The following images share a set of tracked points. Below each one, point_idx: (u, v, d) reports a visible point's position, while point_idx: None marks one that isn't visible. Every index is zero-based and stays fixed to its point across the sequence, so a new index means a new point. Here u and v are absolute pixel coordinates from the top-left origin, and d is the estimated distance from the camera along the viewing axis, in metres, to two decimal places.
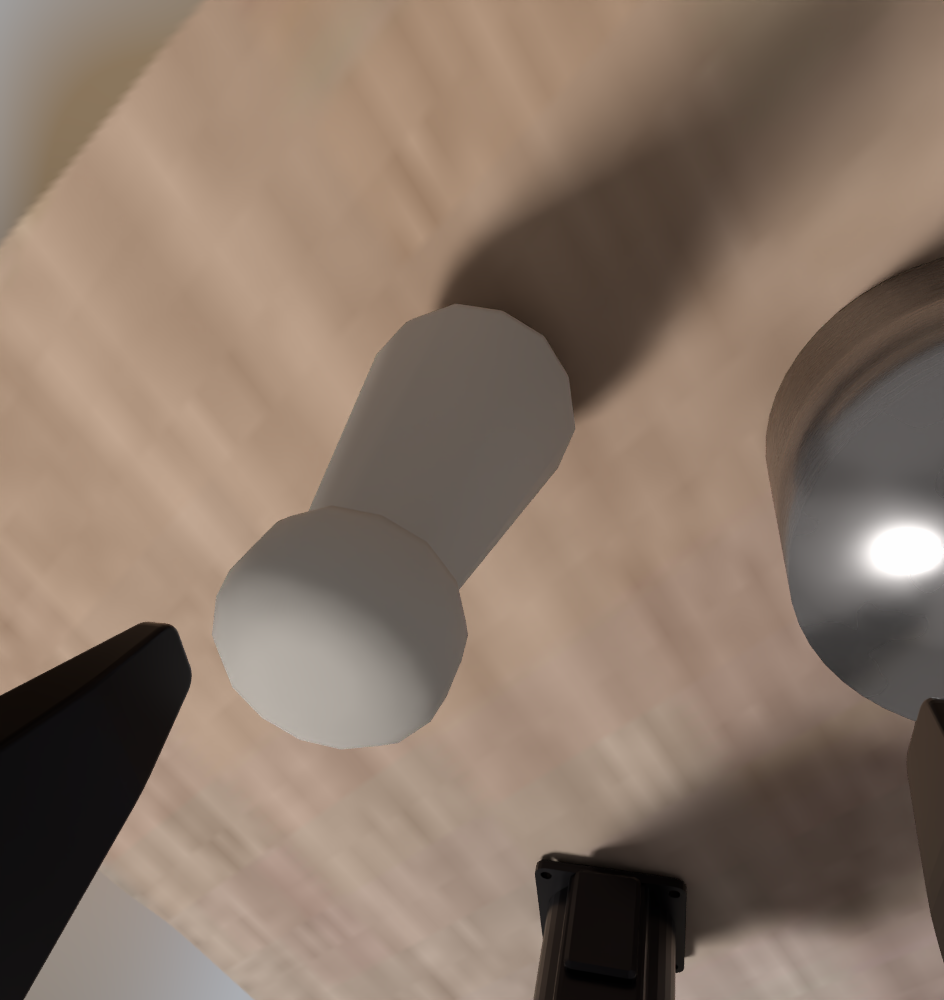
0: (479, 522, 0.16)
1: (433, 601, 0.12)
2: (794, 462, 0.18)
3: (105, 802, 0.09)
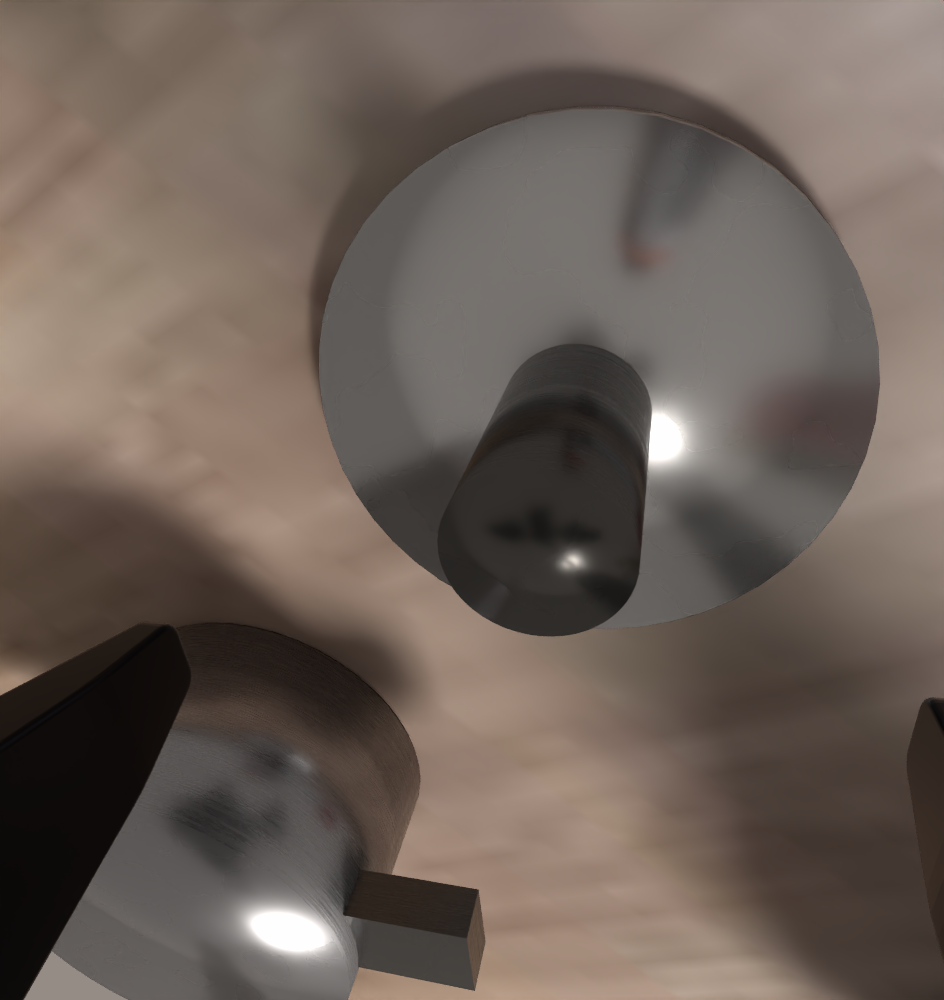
0: None
1: None
2: None
3: (105, 802, 0.09)
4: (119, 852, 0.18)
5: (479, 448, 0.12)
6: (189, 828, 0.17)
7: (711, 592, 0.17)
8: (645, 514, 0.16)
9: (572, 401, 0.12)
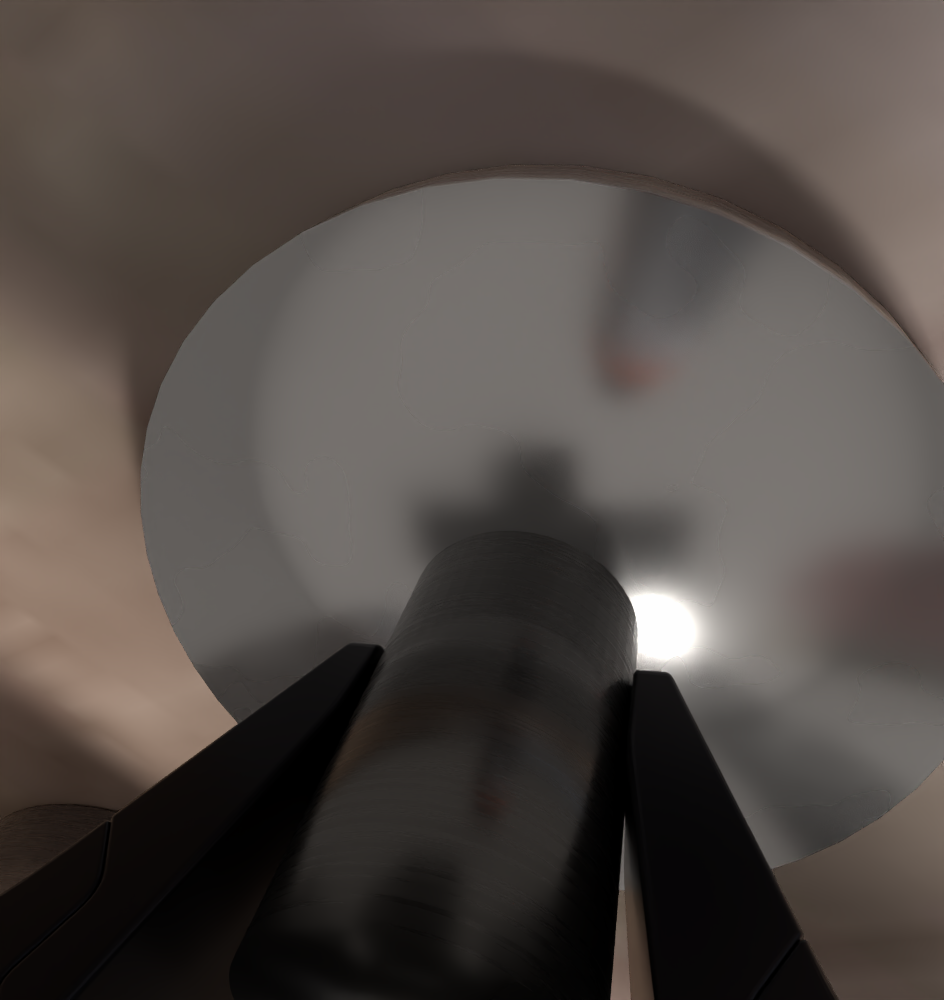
0: None
1: None
2: None
3: None
4: None
5: (326, 782, 0.07)
6: None
7: None
8: None
9: (493, 692, 0.07)
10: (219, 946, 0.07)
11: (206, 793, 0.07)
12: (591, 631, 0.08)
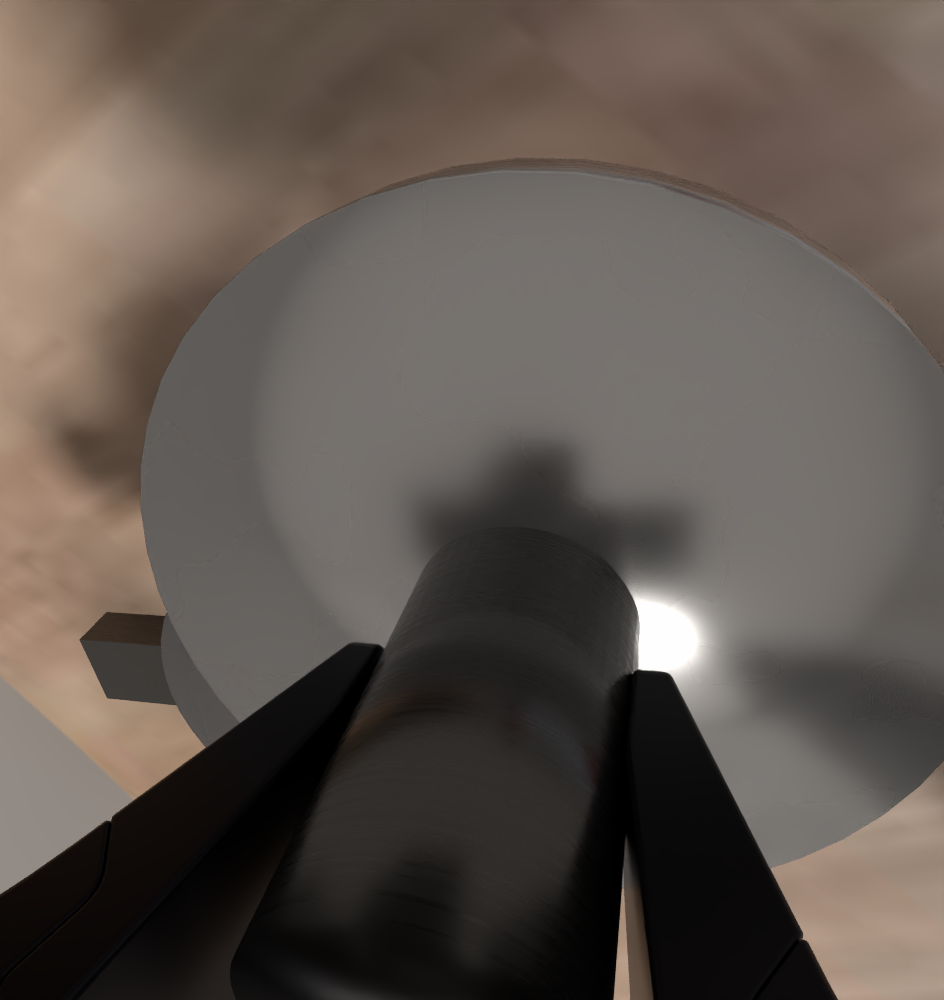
0: None
1: None
2: None
3: None
4: None
5: (327, 779, 0.07)
6: None
7: None
8: None
9: (496, 687, 0.07)
10: (220, 946, 0.07)
11: (206, 793, 0.07)
12: (593, 627, 0.08)
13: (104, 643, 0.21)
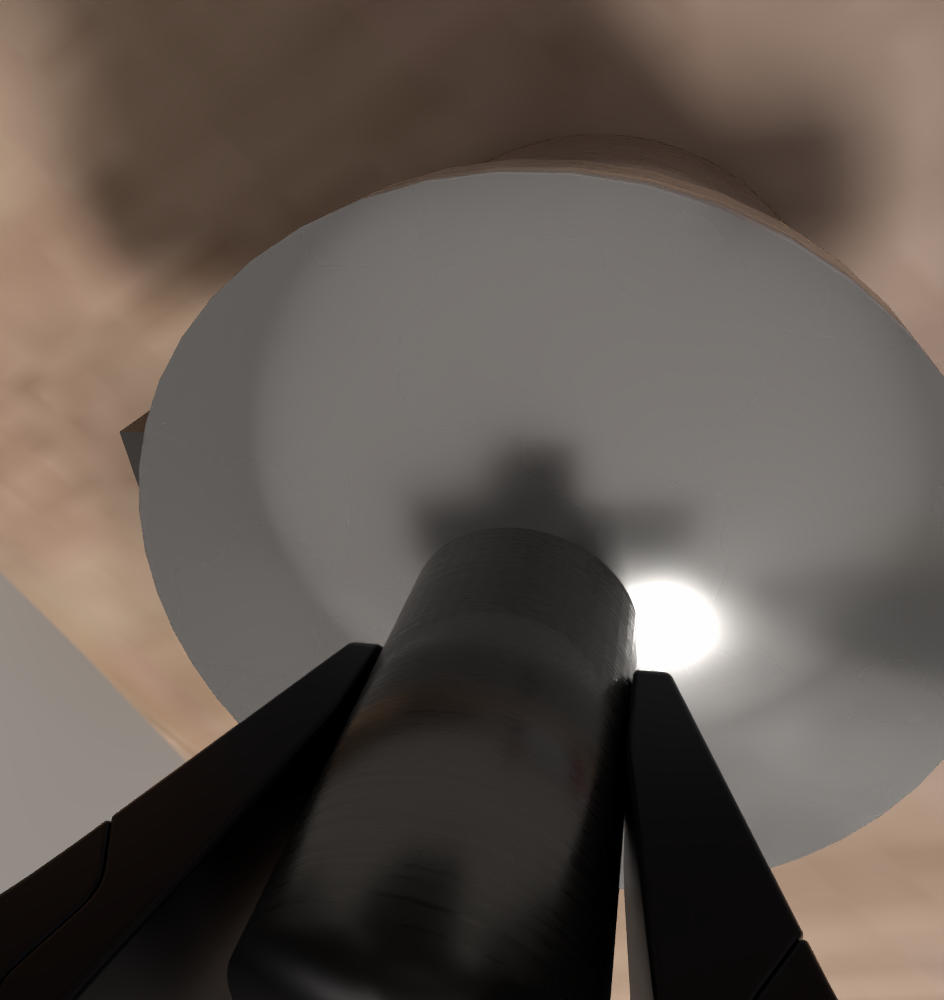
0: None
1: None
2: None
3: None
4: None
5: (324, 780, 0.07)
6: None
7: None
8: None
9: (493, 688, 0.07)
10: (220, 946, 0.07)
11: (206, 793, 0.07)
12: (591, 628, 0.08)
13: None
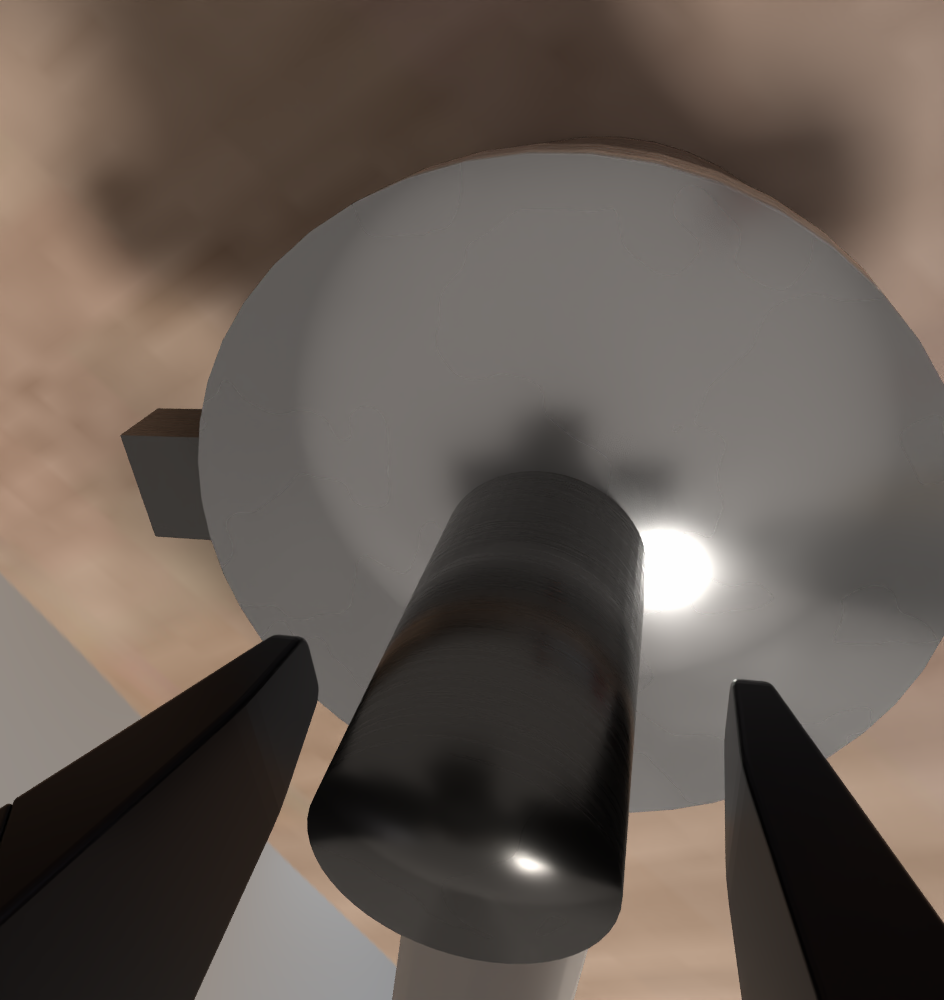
0: None
1: None
2: None
3: (249, 826, 0.09)
4: None
5: (382, 668, 0.08)
6: None
7: (724, 781, 0.13)
8: (637, 685, 0.12)
9: (524, 592, 0.08)
10: (117, 925, 0.07)
11: (108, 778, 0.07)
12: (606, 552, 0.09)
13: (159, 438, 0.14)
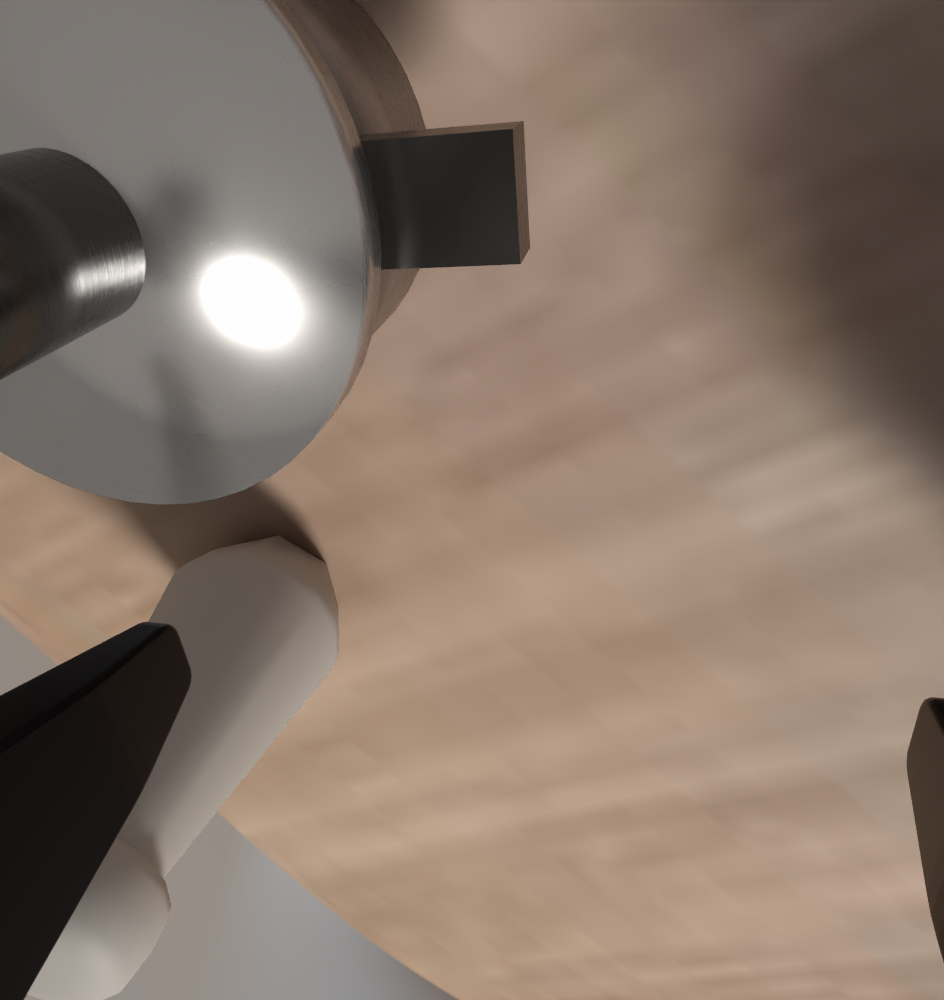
0: None
1: None
2: None
3: (105, 802, 0.09)
4: None
5: None
6: None
7: (268, 452, 0.15)
8: (174, 359, 0.14)
9: None
10: None
11: None
12: (48, 184, 0.12)
13: None
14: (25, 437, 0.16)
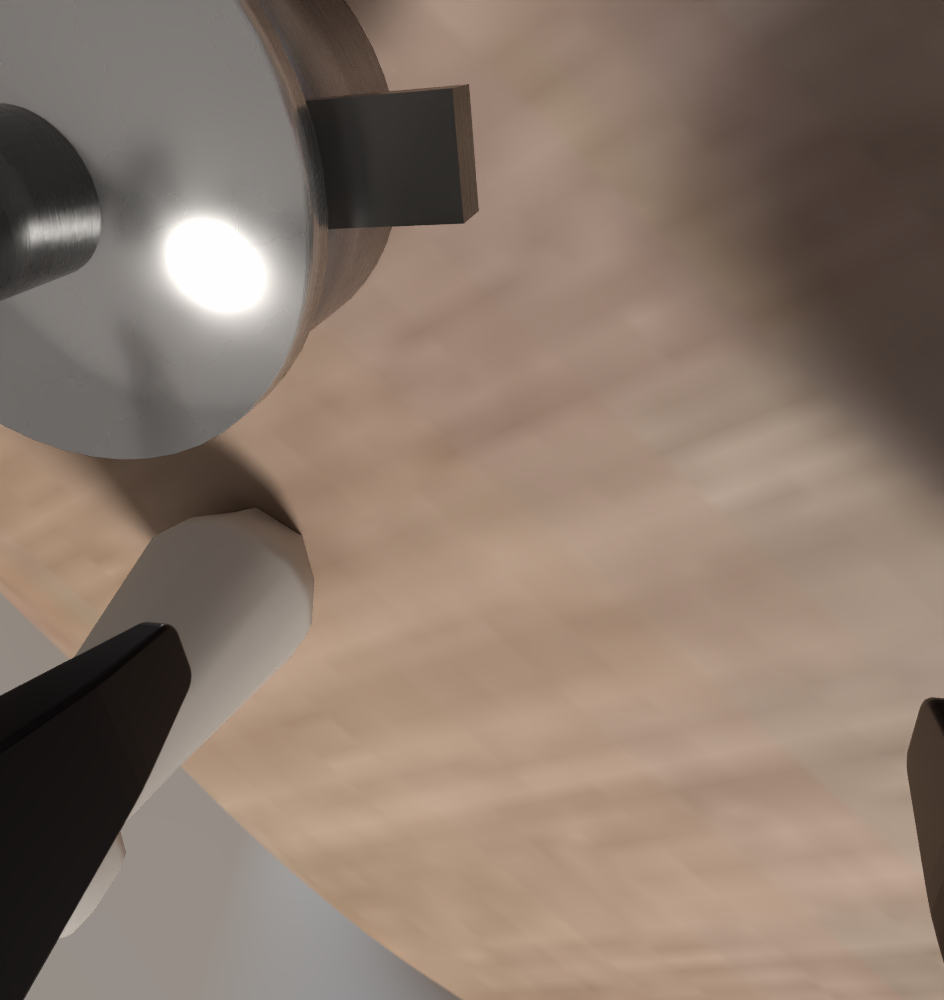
0: None
1: None
2: None
3: (105, 802, 0.09)
4: None
5: None
6: None
7: (222, 407, 0.16)
8: (130, 313, 0.15)
9: None
10: None
11: None
12: (0, 134, 0.12)
13: None
14: None
